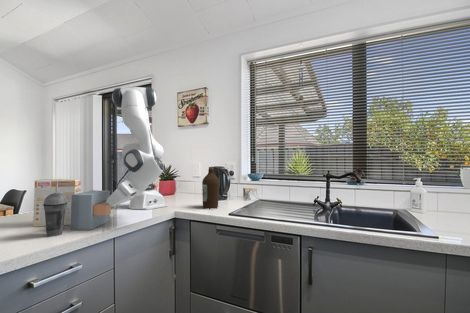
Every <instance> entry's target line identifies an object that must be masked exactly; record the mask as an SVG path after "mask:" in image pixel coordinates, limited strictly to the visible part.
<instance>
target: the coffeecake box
mask: <svg viewBox="0 0 470 313" xmlns="http://www.w3.org/2000/svg"><path fill="white" fill-rule="evenodd" d="M57 181H58V190H57V193H61V194H63V195H64V196H65V197H66V199H67V207H66V210H65V217H64V224H63V226H71V203H72V195H73V194H78V193H82V178H52V179H51V178H49V179H48V178H46V179H45V178H43V179H42V178H41V179H36V180H34V189H33V190H34V193H33V194H34V196H33V220H32V223H33V224H32V227H33V228H37V227H46V221H45V211H44V205H43V204H44V200H45V199H46V197H47V196H49V195H50V194H53V193H56V182H57Z"/></svg>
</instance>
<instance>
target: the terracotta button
mask: <svg viewBox="0 0 470 313" xmlns="http://www.w3.org/2000/svg"><path fill="white" fill-rule="evenodd" d="M111 211H112V210H111V206H110V205H109V204H95V205H93V215H108V214H109V215H110V214H111V213H112V212H111Z"/></svg>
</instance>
